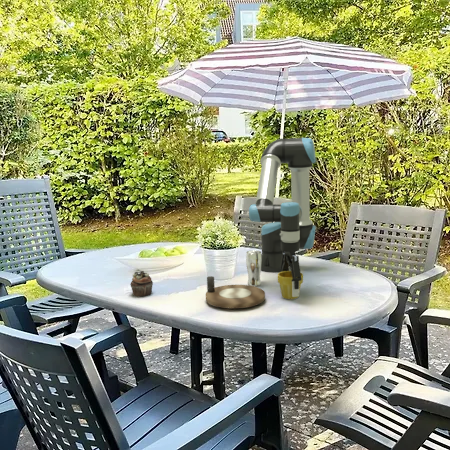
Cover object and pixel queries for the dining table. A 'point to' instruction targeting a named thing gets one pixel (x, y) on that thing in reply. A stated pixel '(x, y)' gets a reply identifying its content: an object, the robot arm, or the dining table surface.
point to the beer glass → (254, 267)
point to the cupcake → (141, 284)
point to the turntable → (233, 295)
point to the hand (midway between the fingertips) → (290, 291)
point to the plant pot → (287, 284)
